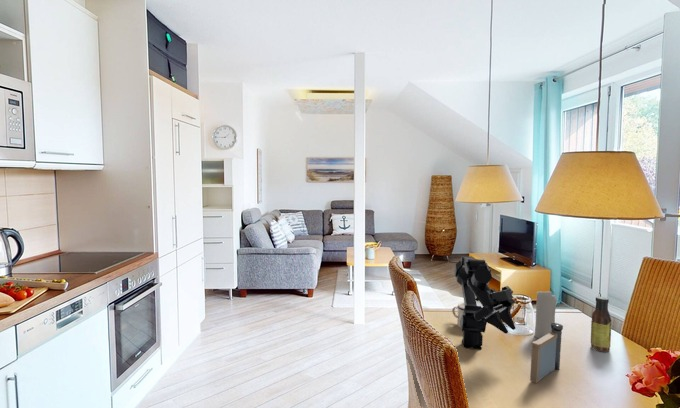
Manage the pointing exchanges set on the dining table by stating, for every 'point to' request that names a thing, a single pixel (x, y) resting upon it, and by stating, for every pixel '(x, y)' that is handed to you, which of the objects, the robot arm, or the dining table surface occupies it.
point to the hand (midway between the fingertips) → (510, 331)
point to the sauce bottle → (601, 326)
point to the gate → (543, 356)
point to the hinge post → (557, 342)
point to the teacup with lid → (459, 312)
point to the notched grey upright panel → (544, 313)
